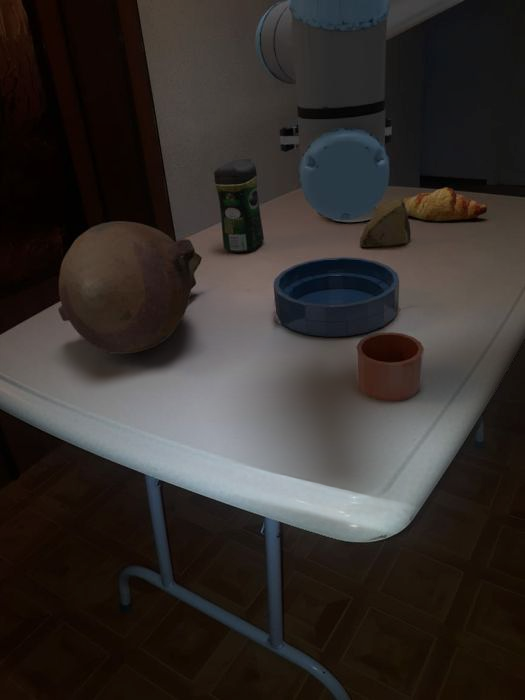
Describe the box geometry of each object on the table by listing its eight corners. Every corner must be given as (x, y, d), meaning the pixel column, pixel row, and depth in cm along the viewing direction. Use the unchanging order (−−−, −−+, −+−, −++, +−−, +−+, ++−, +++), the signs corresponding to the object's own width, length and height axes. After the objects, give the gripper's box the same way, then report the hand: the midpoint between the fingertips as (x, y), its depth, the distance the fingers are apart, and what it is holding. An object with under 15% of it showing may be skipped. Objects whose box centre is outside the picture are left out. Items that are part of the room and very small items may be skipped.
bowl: (408, 294, 95) (409, 261, 92) (381, 350, 80) (381, 312, 77) (301, 284, 103) (299, 254, 100) (258, 333, 88) (254, 299, 85)
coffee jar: (237, 238, 130) (227, 156, 120) (268, 240, 127) (260, 155, 117) (218, 253, 122) (206, 166, 113) (251, 255, 119) (241, 166, 110)
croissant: (391, 230, 135) (385, 205, 129) (403, 200, 139) (398, 175, 133) (482, 236, 124) (480, 209, 118) (493, 204, 128) (492, 177, 122)
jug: (144, 387, 77) (229, 323, 103) (156, 250, 69) (245, 218, 95) (25, 347, 82) (134, 295, 109) (22, 214, 74) (142, 193, 101)
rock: (351, 241, 114) (400, 238, 109) (354, 201, 115) (402, 196, 110) (367, 257, 123) (412, 254, 119) (369, 219, 124) (414, 215, 120)
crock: (425, 376, 73) (428, 336, 70) (414, 410, 67) (416, 368, 64) (366, 367, 76) (366, 329, 73) (349, 400, 70) (349, 359, 67)
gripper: (269, 187, 62) (279, 147, 82) (410, 177, 60) (384, 138, 80) (262, 114, 58) (275, 91, 78) (412, 101, 56) (385, 81, 76)
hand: (330, 115), depth 79 cm, fingers closed on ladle, 2 cm apart
